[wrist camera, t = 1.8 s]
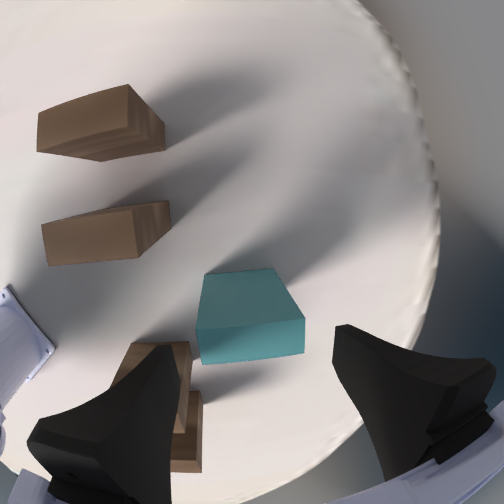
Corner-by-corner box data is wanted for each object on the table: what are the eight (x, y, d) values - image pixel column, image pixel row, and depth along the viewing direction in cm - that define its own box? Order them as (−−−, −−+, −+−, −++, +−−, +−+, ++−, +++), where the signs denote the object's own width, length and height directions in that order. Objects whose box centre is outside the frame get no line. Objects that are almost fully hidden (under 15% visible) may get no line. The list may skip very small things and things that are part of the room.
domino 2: (171, 228, 18) (138, 257, 11) (107, 236, 18) (48, 266, 10) (168, 200, 18) (131, 210, 10) (104, 209, 17) (41, 224, 10)
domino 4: (203, 405, 22) (201, 472, 15) (153, 405, 22) (139, 469, 14) (199, 390, 22) (196, 460, 14) (147, 391, 21) (130, 456, 14)
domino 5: (274, 293, 20) (304, 353, 13) (207, 300, 20) (202, 364, 12) (273, 268, 20) (305, 318, 12) (204, 274, 19) (195, 329, 12)
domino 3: (192, 360, 21) (184, 433, 13) (137, 362, 20) (111, 428, 13) (188, 341, 20) (177, 412, 13) (131, 343, 20) (100, 408, 12)
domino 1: (165, 150, 17) (127, 126, 9) (100, 161, 17) (36, 151, 9) (164, 123, 17) (128, 84, 9) (100, 135, 16) (38, 112, 8)
